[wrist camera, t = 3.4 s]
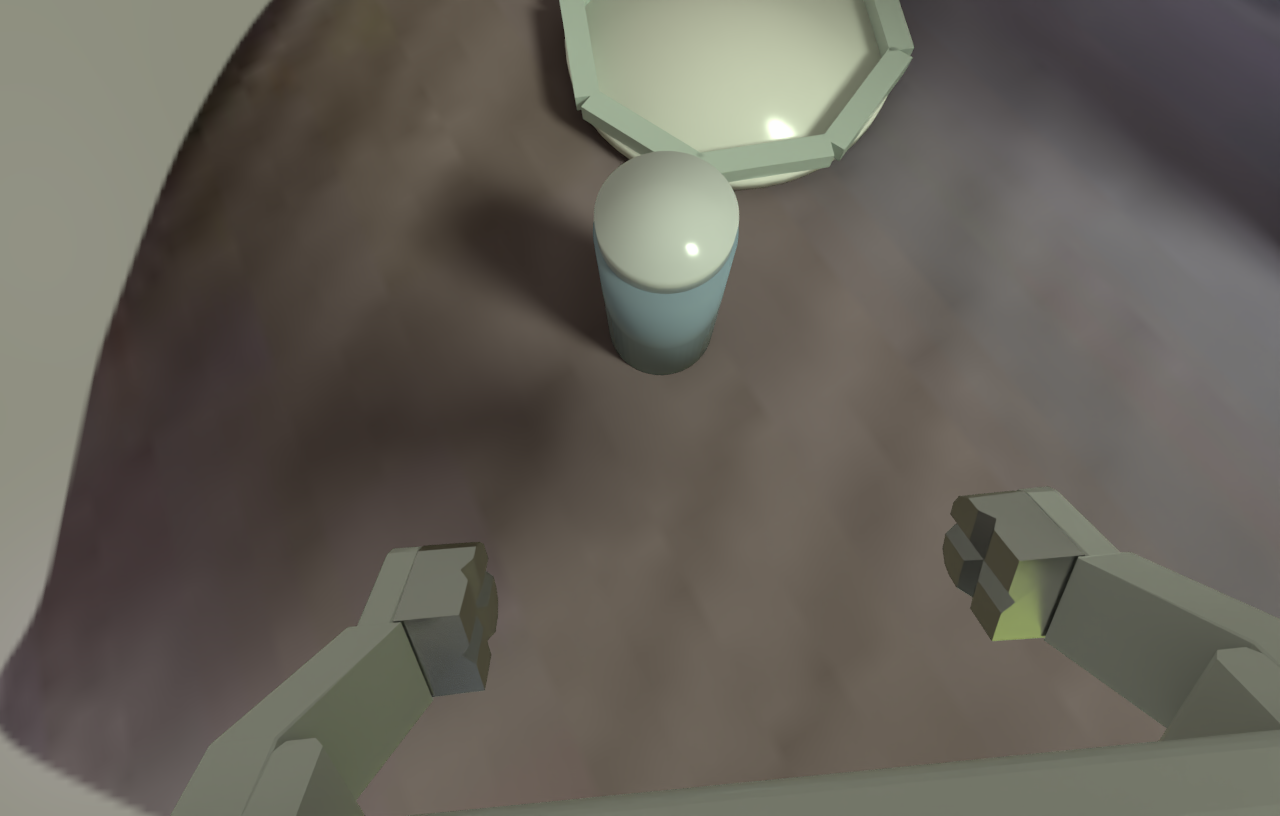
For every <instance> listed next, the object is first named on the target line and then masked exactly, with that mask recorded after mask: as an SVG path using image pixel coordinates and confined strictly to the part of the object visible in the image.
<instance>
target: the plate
mask: <svg viewBox="0 0 1280 816" xmlns="http://www.w3.org/2000/svg"><path fill="white" fill-rule="evenodd" d="M559 1H560V7H561V13H562V19H563V26H564V32H565V48H566V59H567V65H568V71H569V75H570V79H571V83H572V87H573V90H574V95H575V101H576V107H577V110H582V116H583V119H584V120H586V121H587V122H589V123H590V124H592V125H593V126H594V127H595V128H596V130H597V131H598V132H599V133H600V135H601V136H602V137H603V138H604V139H605V140H606V141H607V142H608V143H610V144H611V145H612V146H613V147H614V148H615V149H616V150H617V151H619V152H620V153H621V154H623V155H624V156H626V157H627V158H628V159H632V158H635V157H637V156H640V155H643V154H646V153H651V152H656V151H676V152H683V153H687V154H690V155H693V156H696V157H698V158H701V159H702V160H704V161H706V162H708V163H709V164H711V165H712V166H714V167H715V168H716V169H717V170H718V171H719V172H720V173H721V174H722V175H723V176H724V177H725V178H726V179H727V181H728V182H729V184H730V185H731V187H732V189H733V190H745V189H756V188H764V187H769V186H774V185H778V184H783V183H787V182H789V181H792V180H795V179H798V178H801V177H804V176H806V175H808V174H810V173H812V172H815V171H817V170H819V169H821V168H826V167H830V164H831V162H832V161H834V160H835V159H836V160H838V161H840V159H841V158H842V157H843V155H844V154H845V153H846V151H847V150H848V149H849V148H850V147H852V146H853V145H854V144H855V143H856V142H857V141H858V140H859V139H860V138H861V137H862V135H863V134H864V133H865V132H866V131H867V130H868V128H869V127H870V126H871V124H872V123H873V121H874V119H875V118H876V116H877V115H878V113H879V111H880V110H881V108H882V106H883V104H884V102H885V100H886V98H887V96H888V94H889V93H890V91H891V90H892V89H893V87H894V86H895V85H896V83H897V82H898V81H899V79H900V78H901V76H902V75H903V74H904V72H905V71H906V69H907V67H908V65H909V64H910V62H911V60H912V58H913V57H911V56H910V55H911V53H912V51H913V49H914V45H913V42H912V39H911V36H910V33H909V30H908V27H907V23H906V20H905V17H904V14H903V11H902V8H901V5H900V2H899V0H559Z"/></svg>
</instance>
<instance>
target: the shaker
mask: <svg viewBox="0 0 1280 816" xmlns="http://www.w3.org/2000/svg"><path fill="white" fill-rule="evenodd" d="M738 223H739V209H738V203H737V199H736V196H735V193H734V191H733V189H732V187H731V185H730V184H729V182H728V181H727V179H726V178H725V177H724V176H723V175H722V174H721V173H720V172H719V171H718V170H717V169H716V168H715V167H714V166H712V165H711V164H709V163H708V162H706V161H704V160H702V159H701V158H698V157H696V156H693V155H690V154H687V153H683V152H676V151H656V152H651V153H646V154H643V155H640V156H637V157H635V158H632V159H630V160H628V161H627V162H625V163H624V164H622V165H621V166H619V167H618V168H617V169H616V170H614V171H613V173H612V174H611V175H610V176H609V177H608V178H607V179H606V181H605V182H604V184H603V185H602V187H601V189H600V191H599V193H598V196H597V199H596V203H595V208H594V223H593V240H594V246H595V252H596V257H597V263H598V269H599V274H600V280H601V286H602V291H603V297H604V302H605V308H606V314H607V319H608V325H609V331H610V336H611V340H612V343H613V345H614V347H615V349H616V351H617V352H618V354H619V355H620V357H621V358H622V359H623V360H624V361H625V362H626V363H628V364H629V365H630V366H632V367H634V368H635V369H637V370H639V371H642V372H645V373H648V374H654V375H668V374H674V373H677V372H680V371H683V370H685V369H687V368H689V367H690V366H691V365H693V364H694V363H695V362H697V361H698V360H699V359H700V357H701V356H702V355H703V354H704V352H705V351H706V349H707V347H708V345H709V342H710V339H711V336H712V332H713V329H714V325H715V321H716V318H717V314H718V311H719V307H720V304H721V300H722V297H723V293H724V290H725V286H726V283H727V279H728V275H729V272H730V268H731V265H732V261H733V258H734V254H735V251H736V247H737V243H738Z"/></svg>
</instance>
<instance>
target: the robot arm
mask: <svg viewBox="0 0 1280 816" xmlns="http://www.w3.org/2000/svg"><path fill="white" fill-rule="evenodd" d="M951 516H952V517H953V518H954V520H955V521H956V524H955V525H954V526H953V527H952V528H951V529H950V530H949V531H948V532H947V533H946V534H945V539H944V544H943V555H944V563H945V566H946V569H947V571H948V574H949V576H950V578H951V579H952V581H953V582H954V584H955V586H956V587H957V588H958V589H960V590H962V591H963V592H965V593H967V594H968V595H970V596H972V602H971V607H970V609H971V610H972V612H973V613H974V615H975V616H976V618H977V619H978V621H979V622H980V624H981V626H982V627H983V629H984V630H985V632H986V633H987V635H988V636H989V638H990V639H991V641H1003V640H1017V639H1031V638H1045V639H1044V641H1046V642H1047V643H1049V644H1050V645H1051V646H1053V647H1054V648H1056V649H1057V650H1058V651H1060V652H1061V653H1063V654H1064V655H1065V656H1067V657H1068V658H1069V659H1071V660H1072V661H1074V662H1075V663H1076V664H1078V665H1079V666H1081V667H1082V668H1083V669H1085V670H1086V671H1088V672H1089V673H1090V674H1092V675H1093V676H1095V677H1096V678H1097V679H1099V680H1100V681H1102V682H1103V683H1104V684H1106V685H1107V686H1109V687H1110V688H1111V689H1113V690H1114V691H1116V692H1117V693H1118V694H1120V695H1121V696H1122V697H1124V698H1125V699H1127V700H1128V701H1129V702H1131V703H1132V704H1134V705H1135V706H1136V707H1138V708H1139V709H1141V710H1142V711H1143V712H1145V713H1146V714H1148V715H1149V716H1150V717H1152V718H1153V719H1155V720H1156V721H1157V722H1159V723H1160V724H1162V725H1163V726H1164V727H1166V728H1167V729H1166V731H1165V733H1164V734H1163V736H1162V737H1161V739H1160V740H1159V741H1157V742H1147V743H1137V744H1127V745H1116V746H1106V747H1096V748H1086V749H1076V750H1066V751H1056V752H1046V753H1036V754H1026V755H1016V756H1006V757H996V758H986V759H975V760H965V761H955V762H945V763H935V764H925V765H915V766H905V767H895V768H885V769H875V770H865V771H855V772H845V773H835V774H825V775H815V776H805V777H795V778H784V779H774V780H764V781H754V782H744V783H734V784H724V785H713V786H703V787H693V788H683V789H673V790H663V791H653V792H643V793H632V794H622V795H612V796H602V797H592V798H582V799H572V800H562V801H551V802H541V803H531V804H521V805H511V806H501V807H491V808H480V809H470V810H460V811H450V812H440V813H430V814H420V815H410V816H1280V619H1279V618H1276V617H1274V616H1272V615H1270V614H1267V613H1265V612H1263V611H1261V610H1258V609H1256V608H1254V607H1252V606H1250V605H1247V604H1245V603H1243V602H1241V601H1238V600H1236V599H1234V598H1232V597H1229V596H1227V595H1225V594H1223V593H1221V592H1218V591H1216V590H1214V589H1212V588H1209V587H1207V586H1205V585H1203V584H1200V583H1198V582H1196V581H1194V580H1191V579H1189V578H1187V577H1185V576H1183V575H1180V574H1178V573H1176V572H1174V571H1171V570H1169V569H1167V568H1165V567H1162V566H1160V565H1158V564H1156V563H1153V562H1151V561H1149V560H1147V559H1145V558H1142V557H1140V556H1138V555H1136V554H1133V553H1131V552H1125V553H1120V552H1119V551H1118V550H1117V549H1116V548H1115V547H1114V546H1113V545H1112V544H1111V543H1110V542H1109V541H1108V540H1107V539H1106V538H1105V537H1104V536H1103V535H1102V534H1101V533H1100V532H1099V531H1098V530H1097V529H1096V528H1095V527H1094V526H1093V525H1092V524H1091V523H1090V522H1089V521H1088V520H1087V519H1086V518H1085V517H1084V516H1082V515H1081V514H1080V513H1079V512H1078V511H1077V510H1076V509H1075V508H1074V507H1073V506H1072V505H1071V504H1070V503H1069V502H1068V501H1067V500H1066V499H1065V498H1064V497H1063V496H1062V495H1061V494H1060V493H1059V492H1058V491H1057V490H1055V489H1053V488H1050V487H1048V486H1046V487H1037V488H1028V489H1019V490H1017V491H1004V492H994V493H984V494H975V495H965V496H958V498H957V499H956V500H955V501H954V503H953V506H952V510H951ZM487 562H488V556H487V553H486V550H485V546H484V544H483V543H481V542H470V543H456V544H442V545H428V546H422V547H408V548H393V549H392V550H391V551H390V552H389V553H388V554H387V555H386V558H385V560H384V563H383V565H382V567H381V570H380V572H379V574H378V577H377V579H376V582H375V584H374V586H373V589H372V591H371V594H370V596H369V598H368V601H367V603H366V605H365V608H364V610H363V613H362V615H361V617H360V620H359V622H358V625H357V626H354V627H347V628H346V629H345V630H344V631H343V632H342V633H340V634H339V635H338V636H337V637H336V638H335V639H333V640H332V641H331V642H330V643H329V644H328V645H326V646H325V647H324V648H323V649H322V650H320V651H319V652H318V653H317V654H316V655H315V656H313V657H312V658H311V659H310V660H309V661H308V662H306V663H305V664H304V665H303V666H302V667H301V668H299V669H298V670H297V671H296V672H295V673H294V674H292V675H291V676H290V677H289V678H288V679H287V680H285V681H284V682H283V683H282V684H281V685H280V686H278V687H277V688H276V689H275V690H274V691H272V692H271V693H270V694H269V695H268V696H267V697H265V698H264V699H263V700H262V701H261V702H260V703H258V704H257V705H256V706H255V707H254V708H253V709H251V710H250V711H249V712H248V713H247V714H246V715H244V716H243V717H242V718H241V719H240V720H239V721H237V722H236V723H235V724H234V725H233V726H231V727H230V728H229V729H228V730H227V731H226V732H224V733H223V734H222V735H221V736H220V737H219V738H217V739H216V740H215V741H214V742H213V743H212V744H210V745H209V747H208V749H207V751H206V752H205V754H204V756H203V758H202V760H201V761H200V763H199V765H198V767H197V769H196V770H195V772H194V774H193V776H192V778H191V779H190V781H189V783H188V785H187V787H186V788H185V790H184V792H183V794H182V795H181V797H180V799H179V801H178V803H177V804H176V806H175V808H174V810H173V812H172V813H171V815H170V816H365V815H364V813H363V812H362V810H361V808H360V807H359V805H358V803H357V802H356V800H357V799H358V797H359V796H360V795H361V793H362V792H363V791H364V790H365V788H366V787H367V786H368V784H369V783H370V782H371V780H372V779H373V778H374V776H375V775H376V774H377V773H378V771H379V770H380V769H381V767H382V766H383V765H384V763H385V762H386V761H387V760H388V758H389V757H390V756H391V754H392V753H393V752H394V750H395V749H396V748H397V747H398V745H399V744H400V743H401V741H402V740H403V739H404V737H405V736H406V735H407V733H408V732H409V731H410V730H411V728H412V727H413V726H414V724H415V723H416V722H417V720H418V719H419V718H420V717H421V715H422V714H423V713H424V711H425V710H426V709H427V707H428V706H429V705H430V704H431V702H432V701H433V698H432V697H437V696H445V695H453V694H461V693H469V692H477V691H484V690H485V687H486V682H487V676H488V671H489V665H490V660H491V652H490V648H489V645H488V642H487V641H488V639H489V638H490V637H491V636H492V635H493V634H494V633H495V632H496V625H497V619H498V596H497V588H496V584H495V580H494V577H493V576H492V575H490V574H489V573H488V572H486V567H487Z"/></svg>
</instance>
